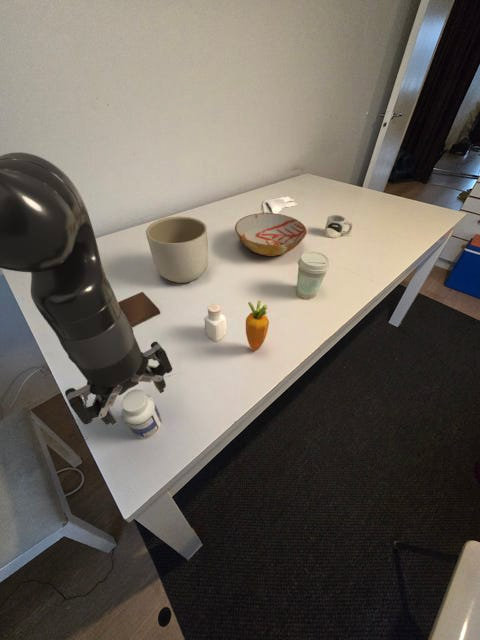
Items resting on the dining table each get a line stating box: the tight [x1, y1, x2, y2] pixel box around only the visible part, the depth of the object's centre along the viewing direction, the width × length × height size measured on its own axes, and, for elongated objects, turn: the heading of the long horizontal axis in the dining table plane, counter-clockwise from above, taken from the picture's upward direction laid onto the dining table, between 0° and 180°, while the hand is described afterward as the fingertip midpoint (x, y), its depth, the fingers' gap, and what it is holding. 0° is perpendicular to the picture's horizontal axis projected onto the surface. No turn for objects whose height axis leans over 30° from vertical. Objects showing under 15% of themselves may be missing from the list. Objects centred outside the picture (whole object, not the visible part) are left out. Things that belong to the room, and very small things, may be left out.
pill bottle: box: [121, 389, 163, 439], centre depth 46 cm, size 5×5×10 cm
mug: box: [323, 214, 354, 239], centre depth 103 cm, size 10×7×7 cm, turn 76°
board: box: [118, 291, 161, 328], centre depth 69 cm, size 18×10×2 cm, turn 131°
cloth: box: [262, 196, 298, 214], centre depth 125 cm, size 26×14×2 cm, turn 135°
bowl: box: [234, 212, 308, 257], centre depth 94 cm, size 25×25×8 cm
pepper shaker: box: [204, 302, 227, 342], centre depth 63 cm, size 4×4×10 cm
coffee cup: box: [296, 251, 330, 300], centre depth 75 cm, size 8×8×12 cm
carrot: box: [245, 300, 270, 352], centre depth 58 cm, size 5×5×15 cm
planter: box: [145, 216, 209, 284], centre depth 80 cm, size 17×17×15 cm
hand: (137, 403), depth 44 cm, fingers open, 8 cm apart
